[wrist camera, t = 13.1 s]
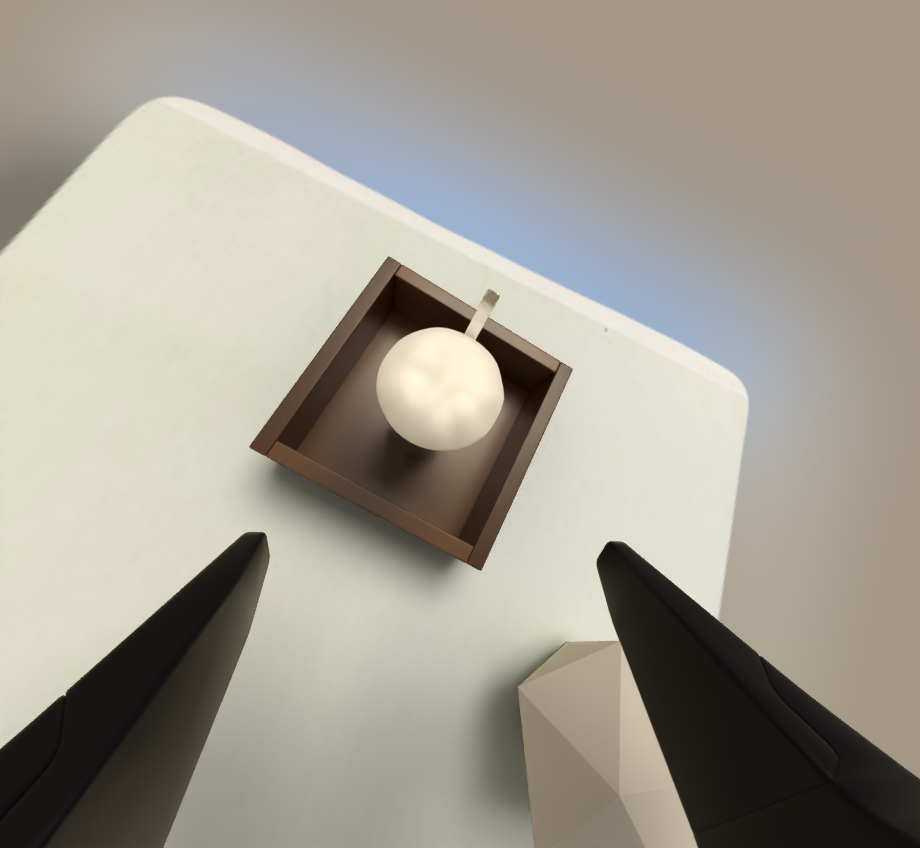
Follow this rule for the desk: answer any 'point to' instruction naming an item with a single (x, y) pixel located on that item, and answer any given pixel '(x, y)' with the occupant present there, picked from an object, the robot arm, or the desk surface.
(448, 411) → the milkshake
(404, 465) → the open box
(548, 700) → the die
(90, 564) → the desk surface
